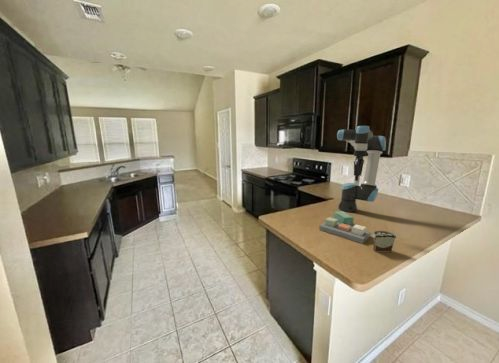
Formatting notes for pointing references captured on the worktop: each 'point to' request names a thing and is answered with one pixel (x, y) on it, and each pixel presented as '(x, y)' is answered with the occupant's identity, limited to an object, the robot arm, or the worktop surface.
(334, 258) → the worktop surface
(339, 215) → the box
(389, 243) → the food container
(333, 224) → the sage button
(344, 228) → the terracotta button
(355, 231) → the pale grey block
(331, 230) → the button board
